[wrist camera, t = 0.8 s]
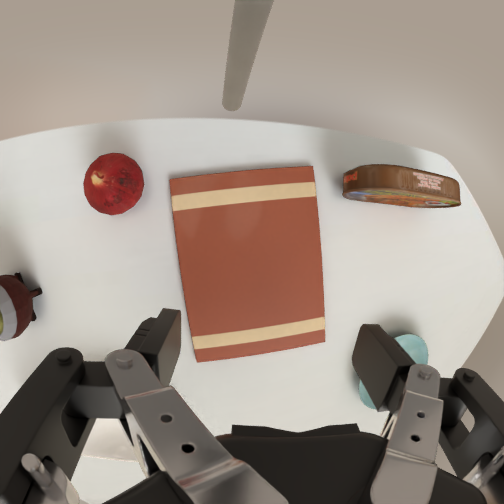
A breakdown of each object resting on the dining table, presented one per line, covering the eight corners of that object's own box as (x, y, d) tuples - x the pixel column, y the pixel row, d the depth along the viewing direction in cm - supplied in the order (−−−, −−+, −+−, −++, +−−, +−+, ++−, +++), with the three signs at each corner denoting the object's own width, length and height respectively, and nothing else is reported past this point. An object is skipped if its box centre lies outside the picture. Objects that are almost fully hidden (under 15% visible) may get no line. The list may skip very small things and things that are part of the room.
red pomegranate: (156, 165, 28) (137, 148, 20) (144, 219, 29) (121, 220, 21) (107, 157, 27) (76, 140, 19) (95, 209, 28) (60, 208, 20)
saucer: (381, 317, 34) (391, 323, 32) (431, 341, 36) (440, 346, 34) (336, 393, 34) (342, 402, 32) (391, 406, 36) (399, 413, 34)
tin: (329, 198, 31) (367, 193, 23) (330, 170, 31) (368, 157, 22) (429, 209, 33) (474, 211, 25) (429, 186, 33) (474, 183, 24)
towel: (170, 179, 28) (169, 179, 28) (311, 166, 30) (313, 165, 30) (197, 360, 31) (196, 362, 31) (323, 339, 33) (325, 341, 32)
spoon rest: (169, 373, 31) (161, 409, 24) (195, 440, 33) (194, 478, 26) (24, 380, 28) (1, 404, 21) (57, 440, 30) (42, 468, 23)
